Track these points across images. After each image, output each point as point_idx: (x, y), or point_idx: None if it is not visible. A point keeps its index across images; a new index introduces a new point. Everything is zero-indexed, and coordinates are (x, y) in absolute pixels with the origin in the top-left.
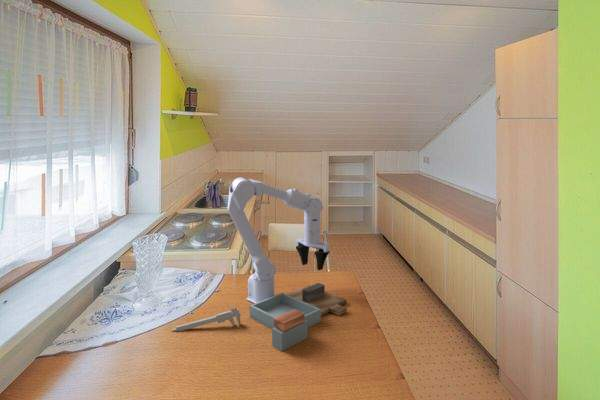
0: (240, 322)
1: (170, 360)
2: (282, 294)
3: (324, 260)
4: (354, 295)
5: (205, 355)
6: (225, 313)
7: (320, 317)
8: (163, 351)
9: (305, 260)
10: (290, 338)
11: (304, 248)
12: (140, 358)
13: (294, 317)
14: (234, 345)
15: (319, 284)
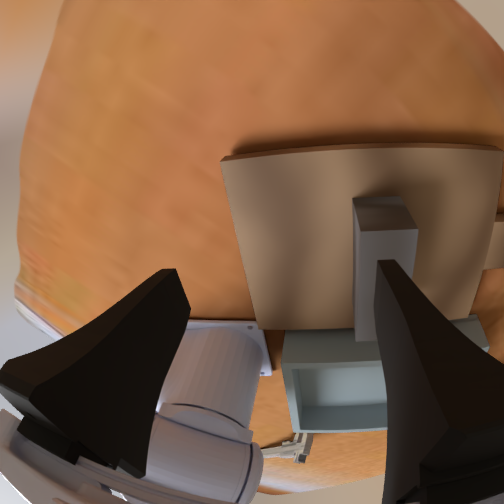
0: None
1: (326, 469)
2: (295, 368)
3: (439, 323)
4: (457, 30)
5: (353, 457)
6: (293, 457)
7: (480, 324)
8: (299, 468)
9: (166, 315)
10: None
11: (113, 433)
12: (295, 474)
13: None
14: (367, 440)
15: (386, 245)
